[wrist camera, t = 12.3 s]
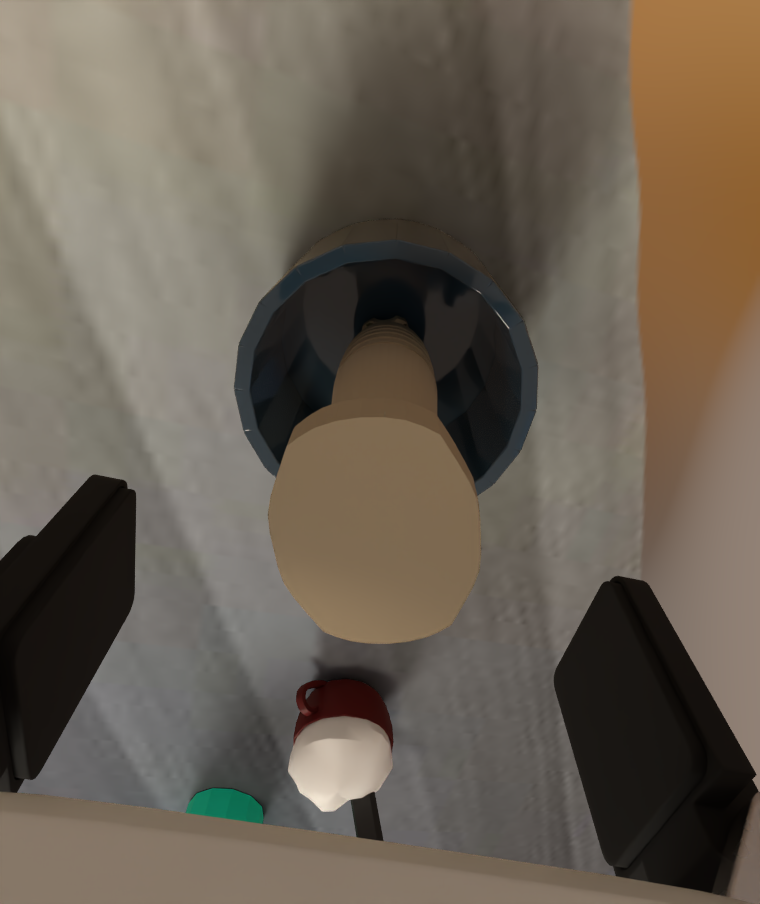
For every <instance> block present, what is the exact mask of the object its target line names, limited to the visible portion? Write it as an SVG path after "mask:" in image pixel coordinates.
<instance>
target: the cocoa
mask: <svg viewBox="0 0 760 904" xmlns="http://www.w3.org/2000/svg"><path fill="white" fill-rule="evenodd" d="M311 688H316V689H315V690H314V691H313V692H312V693H311V694H310V696H309V697H308V698H307V700H306V699H305V695H306V691H307V690H308V689H311ZM296 702H297V706H298V708H299V710H300V713H299V716H298V719H297V722H296V726H295V732H294V738H293V742H294V747H293V750H292V752H291V755H290V761H289V767H288V772H289V774H290V775H291V777H292V778H293V780H294V781H295V783H296V785H297V787H298V790H299V792H300V793H301V794H303V795H304V796H306V797H307V798H309V799H310V800H311V801H312V802H313V803H314V804H315V805H316V806H317V807H318V808H319V809H320V810H321V811H322V812H328V811H335V810H336V809H338V808H339V807H340V806H342V805H343V804H344V803H345V802H347V801H348V800H351V804H352V811H353V817H354V824H355V830H356V836H357V838H364V839H371V840H378V841H383V836H382V831H381V825H380V820H379V814H378V809H377V803H376V798H375V792H376V791H378V790H379V789H380V787H381V785H382V784H383V782H384V781H385V779H386V778H387V776H388V774H389V773H390V771H391V770H392V768H393V762H392V747H393V731H392V724H391V720H390V716H389V713H388V710H387V707H386V705H385V703H384V701H383V700H382V698H381V697H380V695H379V693H378V692H377V691H376V690H375V689H373V688H372V687H370V686H368V685H367V684H365V683H363V682H361V681H356V680H351V679H340V680H331V681H329V682H326V681H323V680H314V681H311V682H308V683H306V684H304V685H302V686H301V687H300V688H299V689H298V691H297V695H296Z"/></svg>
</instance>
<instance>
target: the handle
mask: <svg viewBox="0 0 760 904" xmlns="http://www.w3.org/2000/svg"><path fill="white" fill-rule="evenodd" d="M268 520H269V529H270V535H271V539H272V544H273V548H274V552H275V557H276V561H277V565H278V568H279V571H280V574H281V577H282V579H283V582H284V584H285V585H286V587H287V588H288V590H289V591H290V593H291V594H292V596H293V597H294V598H295V600H296V601H297V602H298V603H299V604H300V605H301V607H302V608H303V609H304V610H305V611H306V613H307V614H308V615H309V616H310V617H311V618H312V619H313V620H314V622H315V623H316V624H317V625H318V626H319V627H320V628H321V629H322V630H323V632H326V633H328V634H331V635H333V636H335V637H338V638H342V639H345V640H349V641H353V642H361V643H369V644H391V643H400V642H409V641H413V640H417V639H421V638H426V637H428V636H430V635H433V634H435V633H437V632H440V631H441V630H443V629H445V628H447V627H449V626H450V625H452V623H453V621H454V619H455V618H456V616H457V614H458V613H459V611H460V609H461V608H462V606H463V604H464V602H465V601H466V599H467V597H468V595H469V593H470V591H471V590H472V588H473V586H474V583H475V581H476V578H477V575H478V573H479V569H480V559H481V532H480V514H479V504H478V498H477V493H476V488H475V484H474V480H473V477H472V475H471V473H470V471H469V469H468V467H467V465H466V463H465V461H464V459H463V457H462V455H461V454H460V452H459V450H458V448H457V446H456V444H455V443H454V441H453V439H452V438H451V436H450V435H449V433H448V431H447V430H446V428H445V427H444V425H443V424H442V422H441V421H440V419H439V418H438V416H437V386H436V380H435V375H434V370H433V366H432V363H431V360H430V357H429V354H428V352H427V350H426V348H425V346H424V344H423V342H422V340H421V339H420V338H419V337H418V335H417V334H416V333H415V332H414V331H413V330H411V329H410V328H409V327H408V324H407V321H406V319H404V318H402V317H400V316H395V317H394V318H391V319H387V320H379V319H376V318H372V319H370V320H368V321H367V322H366V323H364V325H363V327H362V331H361V332H360V333H358V334H357V335H356V337H355V338H354V339H353V340H352V342H351V343H350V345H349V346H348V348H347V350H346V352H345V354H344V356H343V358H342V360H341V362H340V365H339V368H338V372H337V375H336V378H335V382H334V387H333V395H332V404H331V405H329V406H326V407H323V408H321V409H319V410H318V411H316V412H314V413H313V414H311V415H309V416H308V417H306V418H305V419H304V420H303V421H301V422H300V423H299V424H298V425H296V426H295V428H294V429H293V432H292V434H291V436H290V439H289V442H288V444H287V447H286V450H285V453H284V456H283V459H282V462H281V465H280V468H279V471H278V474H277V477H276V480H275V483H274V487H273V490H272V494H271V497H270V504H269V511H268Z"/></svg>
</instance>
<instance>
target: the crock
mask: <svg viewBox="0 0 760 904" xmlns="http://www.w3.org/2000/svg"><path fill="white" fill-rule="evenodd" d="M395 316H400V317H402V318H404V319H406V321H407V324H408V327H409V328H410V329H411V330H413V331H414V332H415V333H416V334H417V335H418V337H419V338H420V339H421V340H422V342H423V344H424V346H425V348H426V350H427V352H428V354H429V357H430V360H431V363H432V366H433V370H434V375H435V380H436V386H437V416H438V418H439V419H440V421H441V422H442V424H443V425H444V427H445V428H446V430H447V431H448V433H449V435H450V436H451V438H452V439H453V441H454V443H455V444H456V446H457V448H458V450H459V452H460V454H461V455H462V457H463V459H464V461H465V463H466V465H467V467H468V469H469V471H470V473H471V475H472V477H473V480H474V484H475V488H476V493H477V496H478V495H479V494H481V493H482V492H484V491H485V490H487V489H488V488H489V487H491V486H492V485H493V484H494V483H495V482H496V481H497V480H498V479H499V477H500V476H501V475H502V474H503V472H504V471H505V470H506V469H507V468H508V466H509V465H510V464H511V463H512V461H513V460H514V459H515V458H516V456H517V455H518V454H519V453H520V450H521V449H522V447H523V444H524V442H525V439H526V436H527V434H528V431H529V429H530V426H531V423H532V421H533V418H534V416H535V413H536V409H537V387H538V362H537V359H536V356H535V353H534V350H533V346H532V343H531V340H530V337H529V334H528V331H527V328H526V325H525V321H524V320H523V318H522V316H521V315H520V314H519V312H518V311H517V310H516V308H515V307H514V305H513V304H512V303H511V301H510V300H509V299H508V297H507V296H506V295H505V293H504V292H503V290H502V289H501V288H500V286H499V285H498V284H497V282H496V281H495V280H494V278H493V277H492V276H491V274H490V273H489V272H488V271H487V269H486V268H485V267H484V265H483V264H482V263H481V261H480V260H479V259H478V258H477V256H476V255H475V254H474V252H472V251H471V250H470V249H469V248H467V247H466V246H464V245H463V244H462V243H461V242H459V241H458V240H456V239H455V238H453V237H452V236H450V235H449V234H447V233H445V232H443V231H441V230H440V229H437V228H434V227H432V226H429V225H425V224H422V223H419V222H415V221H409V220H403V219H377V220H368V221H364V222H358V223H355V224H352V225H350V226H347V227H345V228H342V229H340V230H338V231H335V232H334V233H332V234H330V235H329V236H327V237H325V238H323V239H321V240H320V241H318V242H317V243H316V244H315V245H314V246H313V247H312V248H311V249H309V250H308V251H307V252H306V253H305V254H304V255H303V256H302V257H301V258H300V259H299V260H298V261H297V262H296V263H295V264H294V265H293V266H292V267H291V268H290V269H289V270H288V271H287V272H286V274H285V275H284V276H283V277H282V278H281V279H280V280H279V281H278V282H277V283H276V284H275V285H274V286H273V287H272V288H271V289H270V290H269V292H268V293H267V294H266V295H265V296H264V297H263V298H262V299H261V301H260V302H259V303H258V305H257V307H256V309H255V311H254V313H253V315H252V317H251V319H250V321H249V324H248V326H247V328H246V330H245V332H244V334H243V336H242V338H241V340H240V342H239V346H238V355H237V364H236V373H235V382H234V389H235V390H234V391H235V396H236V400H237V405H238V409H239V413H240V418H241V422H242V426H243V430H244V433H245V435H246V437H247V438H248V440H249V442H250V443H251V445H252V447H253V448H254V450H255V452H256V453H257V455H258V457H259V458H260V460H261V462H262V463H263V465H264V467H265V468H266V469H267V470H268V471H269V472H270V473H271V474H272V475H273V476H274V477H277V474H278V471H279V468H280V465H281V462H282V459H283V456H284V453H285V450H286V447H287V444H288V442H289V439H290V436H291V434H292V432H293V429H294V428H295V426H296V425H298V424H299V423H300V422H301V421H303V420H304V419H305V418H306V417H308V416H309V415H311V414H313V413H314V412H316V411H318V410H319V409H321V408H323V407H326V406H329V405H331V404H332V395H333V387H334V382H335V378H336V375H337V372H338V368H339V365H340V362H341V360H342V358H343V356H344V354H345V352H346V350H347V348H348V346H349V345H350V343H351V342H352V340H353V339H354V338H355V337H356V335H357V334H358V333H360V332H361V331H362V327H363V325H364V323H366V322H367V321H368V320H370V319H372V318H376V319H379V320H387V319H391V318H394V317H395Z"/></svg>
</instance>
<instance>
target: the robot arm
mask: <svg viewBox="0 0 760 904" xmlns="http://www.w3.org/2000/svg"><path fill="white" fill-rule="evenodd" d="M135 533H136V493H135V491H134V490H131V489H128V488H127V483H126V481H124V480H120V479H115V478H110V477H105V476H100V475H92V476H91V477H89V478H88V479H87V481H86V482H85V483H84V484H83V485H82V486H81V487H80V488H79V489H78V491H77V492H76V493H75V494H74V495H73V496H72V497H71V498H70V499H69V501H68V502H67V503H66V504H65V505H64V506H63V507H62V508H61V509H60V511H59V512H58V513H57V514H56V515H55V516H54V517H53V518H52V519H51V520H50V522H49V523H48V524H47V525H46V526H45V527H44V528H43V529H42V530H41V532H40V533H39V534H38V535H37V536H32V535H28V536H26V537H23V538H22V539H21V540H20V541H19V542H17V543H16V544H15V545H14V547H13V548H12V549H11V550H10V551H9V552H8V553H7V554H6V555H5V556H4V557H3V558H2V559H1V560H0V904H760V792H759V791H758V789H757V787H756V786H755V784H754V782H753V780H752V779H753V778H754V777H755V775H756V773H755V771H754V769H753V768H752V766H751V764H750V762H749V760H748V759H747V757H746V755H745V753H744V752H743V750H742V748H741V747H740V745H739V743H738V741H737V739H736V738H735V736H734V734H733V732H732V730H731V729H730V727H729V725H728V723H727V722H726V720H725V718H724V716H723V715H722V713H721V711H720V709H719V708H718V706H717V704H716V702H715V701H714V699H713V697H712V695H711V693H710V692H709V690H708V688H707V687H706V685H705V683H704V681H703V680H702V678H701V676H700V674H699V672H698V671H697V669H696V667H695V665H694V664H693V662H692V660H691V659H690V656H689V655H688V653H687V651H686V650H685V648H684V646H683V644H682V642H681V641H680V639H679V637H678V635H677V634H676V632H675V630H674V628H673V627H672V625H671V623H670V621H669V620H668V618H667V616H666V614H665V612H664V611H663V609H662V607H661V605H660V604H659V602H658V600H657V598H656V597H655V595H654V593H653V591H652V589H651V588H650V586H649V585H648V584H647V583H646V582H644V581H641V580H636V579H631V578H626V577H621V576H615V577H614V578H612V579H611V580H610V582H609V581H606V582H604V583H603V584H602V585H601V587H600V588H599V590H598V592H597V594H596V596H595V598H594V600H593V601H592V603H591V605H590V607H589V609H588V611H587V612H586V614H585V616H584V618H583V620H582V622H581V624H580V625H579V627H578V629H577V631H576V633H575V635H574V637H573V638H572V640H571V642H570V644H569V646H568V648H567V649H566V651H565V653H564V655H563V657H562V659H561V661H560V662H559V664H558V666H557V668H556V670H555V674H554V687H555V691H556V695H557V698H558V701H559V705H560V708H561V712H562V715H563V719H564V722H565V726H566V729H567V732H568V736H569V739H570V743H571V746H572V750H573V753H574V757H575V760H576V764H577V767H578V770H579V774H580V777H581V781H582V784H583V788H584V791H585V795H586V798H587V802H588V805H589V808H590V812H591V815H592V819H593V822H594V826H595V829H596V833H597V836H598V840H599V843H600V846H601V850H602V853H603V856H604V858H605V860H606V862H607V863H608V864H609V865H610V866H613V868H614V871H615V874H616V876H611V875H604V874H598V873H591V872H585V871H578V870H571V869H565V868H558V867H552V866H545V865H539V864H532V863H525V862H519V861H512V860H506V859H499V858H493V857H486V856H480V855H473V854H466V853H459V852H453V851H446V850H439V849H432V848H426V847H419V846H412V845H405V844H398V843H392V842H385V841H378V840H371V839H364V838H357V837H351V836H344V835H337V834H330V833H323V832H316V831H309V830H303V829H296V828H288V827H281V826H274V825H267V824H260V823H253V822H246V821H239V820H232V819H225V818H218V817H210V816H203V815H196V814H189V813H182V812H175V811H168V810H161V809H154V808H147V807H138V806H130V805H122V804H114V803H106V802H98V801H90V800H81V799H73V798H65V797H57V796H49V795H39V794H25V793H17V791H18V790H19V788H20V786H21V784H22V783H23V781H24V779H29V780H33V779H35V778H36V777H37V775H38V774H39V773H40V771H41V770H42V768H43V766H44V764H45V763H46V761H47V759H48V757H49V755H50V754H51V752H52V750H53V748H54V746H55V745H56V743H57V741H58V739H59V738H60V736H61V734H62V732H63V730H64V729H65V727H66V725H67V723H68V721H69V720H70V718H71V716H72V714H73V713H74V711H75V709H76V707H77V705H78V704H79V702H80V700H81V698H82V696H83V695H84V693H85V691H86V689H87V688H88V686H89V684H90V682H91V680H92V679H93V677H94V675H95V673H96V671H97V670H98V668H99V666H100V664H101V663H102V661H103V659H104V657H105V655H106V654H107V652H108V650H109V648H110V646H111V645H112V643H113V641H114V639H115V638H116V636H117V634H118V632H119V630H120V629H121V627H122V625H123V623H124V621H125V620H126V618H127V616H128V614H129V612H130V610H131V607H132V604H133V600H134V593H135Z"/></svg>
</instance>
